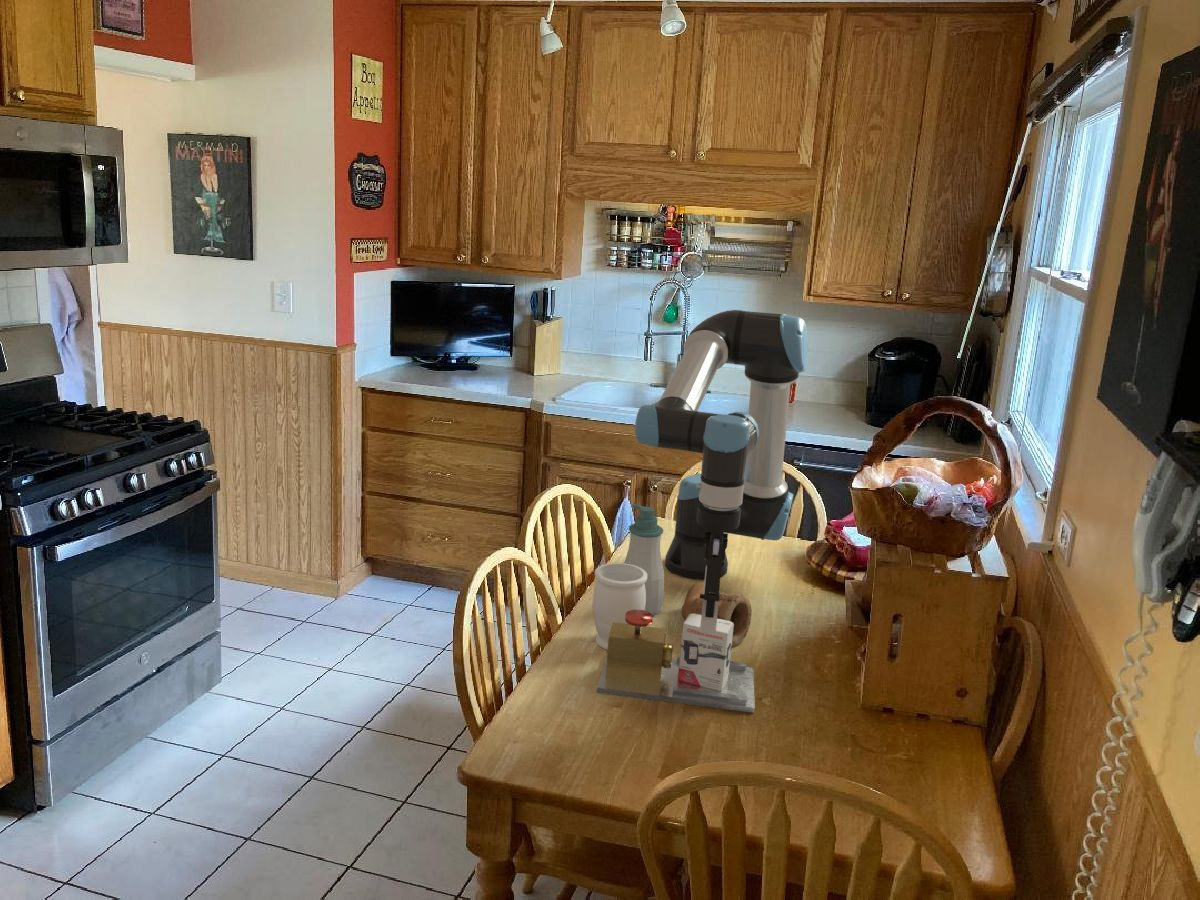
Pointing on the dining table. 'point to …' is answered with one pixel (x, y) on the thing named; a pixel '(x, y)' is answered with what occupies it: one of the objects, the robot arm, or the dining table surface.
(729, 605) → the clay pipe
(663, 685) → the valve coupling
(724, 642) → the ink box
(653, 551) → the soap bottle
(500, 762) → the dining table surface
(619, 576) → the jar
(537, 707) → the dining table surface
